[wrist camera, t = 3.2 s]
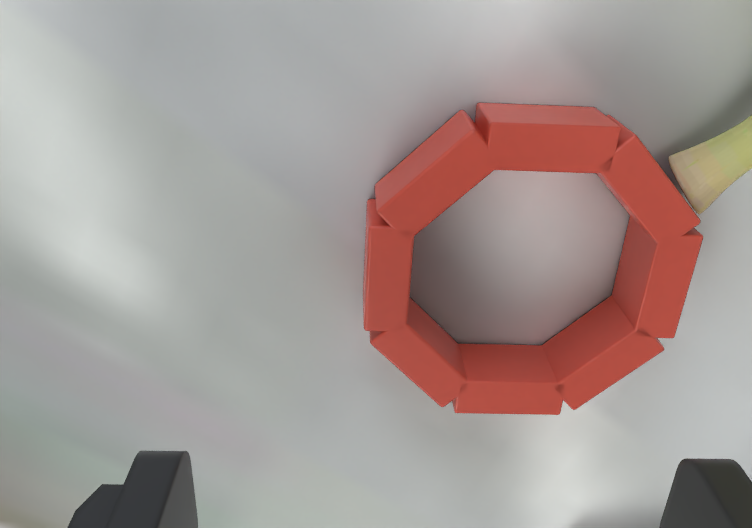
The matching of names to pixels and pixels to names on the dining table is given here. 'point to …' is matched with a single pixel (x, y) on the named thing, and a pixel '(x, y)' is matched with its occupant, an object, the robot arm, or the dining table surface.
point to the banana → (713, 165)
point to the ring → (584, 336)
